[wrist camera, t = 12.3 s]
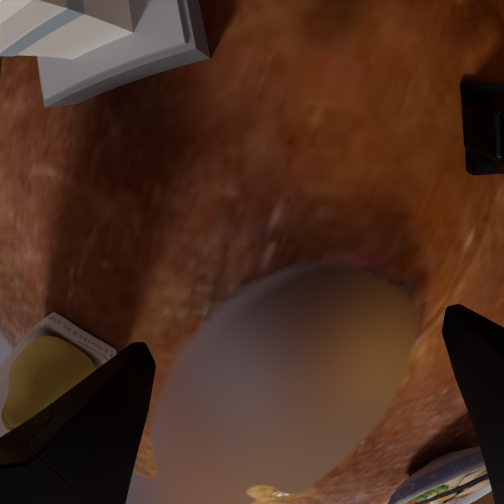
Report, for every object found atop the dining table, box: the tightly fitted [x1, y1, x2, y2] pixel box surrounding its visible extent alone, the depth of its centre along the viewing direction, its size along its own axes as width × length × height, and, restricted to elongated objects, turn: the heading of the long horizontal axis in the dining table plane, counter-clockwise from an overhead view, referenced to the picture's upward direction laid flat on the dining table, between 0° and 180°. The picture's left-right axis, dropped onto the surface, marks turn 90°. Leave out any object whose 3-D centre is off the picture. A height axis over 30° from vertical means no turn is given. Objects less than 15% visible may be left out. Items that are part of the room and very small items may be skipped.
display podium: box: [37, 0, 211, 108], centre depth 14 cm, size 10×10×4 cm
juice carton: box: [0, 312, 117, 437], centre depth 17 cm, size 9×8×24 cm
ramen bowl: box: [388, 446, 492, 504], centre depth 31 cm, size 25×23×8 cm
